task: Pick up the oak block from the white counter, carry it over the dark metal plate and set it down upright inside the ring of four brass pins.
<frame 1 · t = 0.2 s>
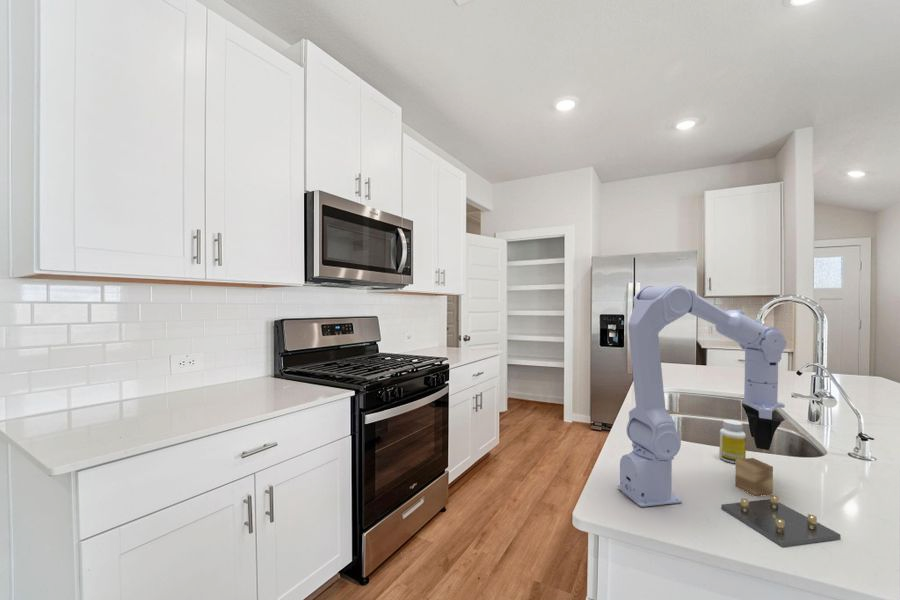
hand: (759, 442, 87), 10 cm above the counter, tool pointing down, fingers open, 7 cm apart
supplement bottle: (732, 460, 100), on the counter
oak block: (753, 490, 85), on the counter
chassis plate: (776, 522, 73), on the counter
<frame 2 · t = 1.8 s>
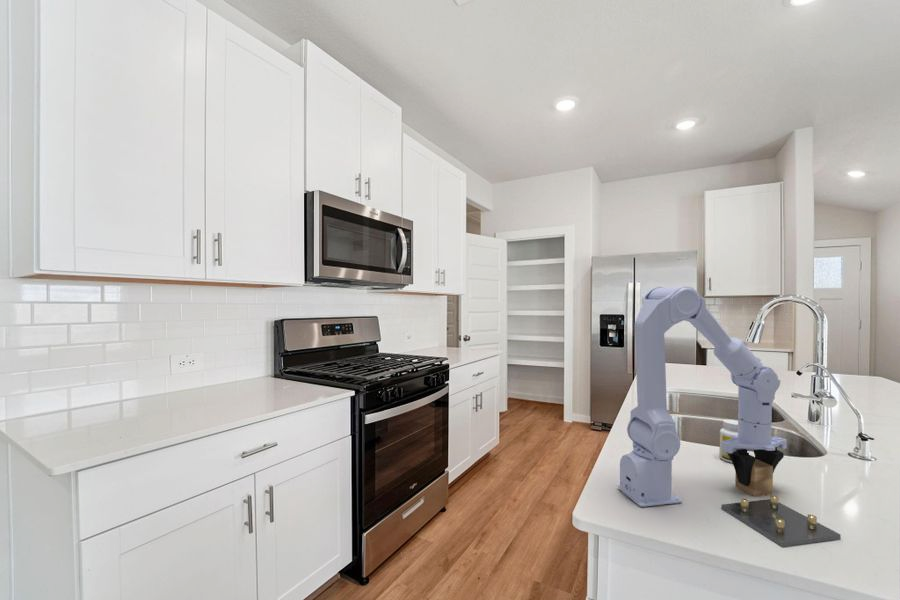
hand: (753, 482, 85), 2 cm above the counter, tool pointing down, fingers closed on oak block, 4 cm apart
oak block: (753, 490, 85), on the counter, touching gripper
everything else where it was.
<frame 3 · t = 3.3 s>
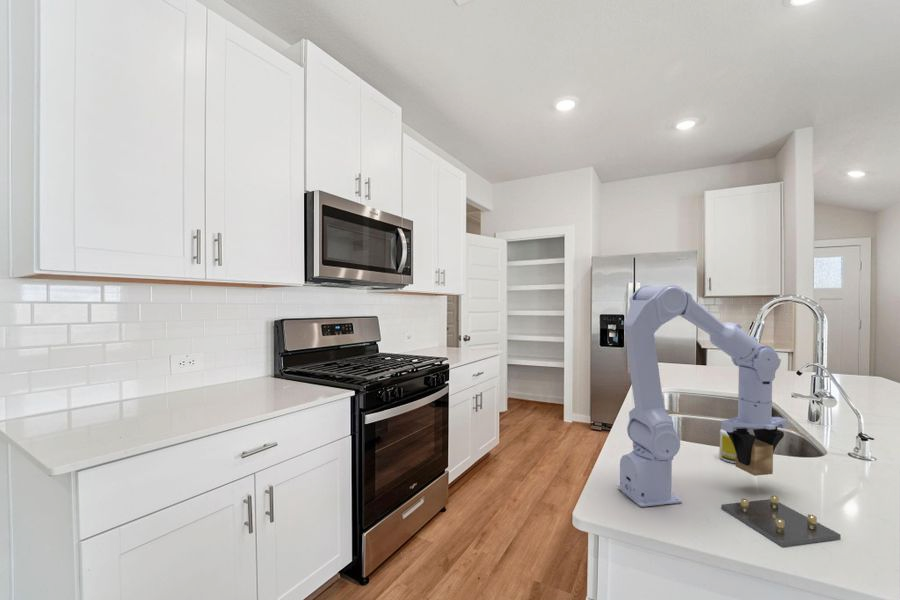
hand: (753, 462, 85), 6 cm above the counter, tool pointing down, fingers closed on oak block, 4 cm apart
oak block: (753, 470, 85), point 4 cm above the counter, touching gripper
everything else where it was.
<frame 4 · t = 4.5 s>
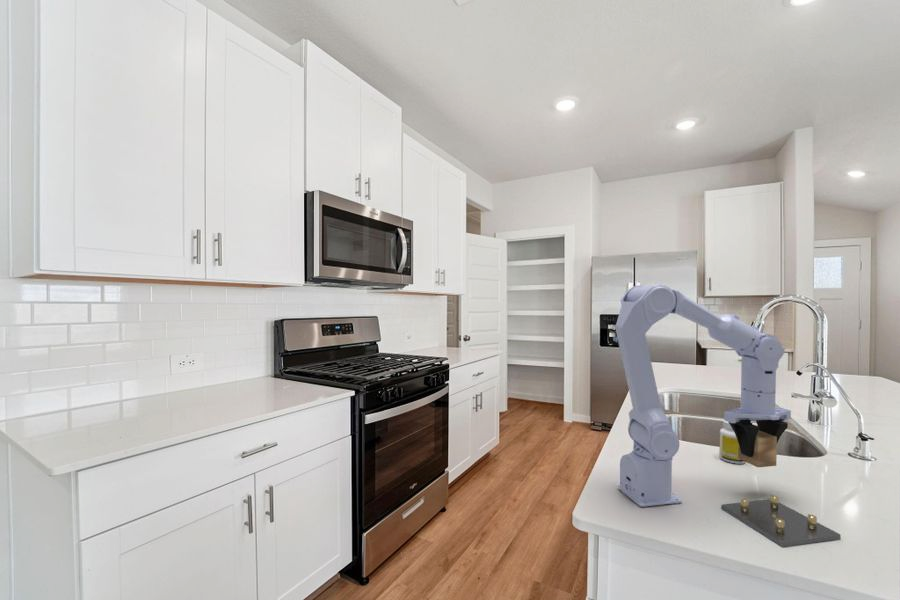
hand: (757, 454, 83), 9 cm above the counter, tool pointing down, fingers closed on oak block, 4 cm apart
oak block: (756, 462, 83), point 7 cm above the counter, touching gripper
everything else where it was.
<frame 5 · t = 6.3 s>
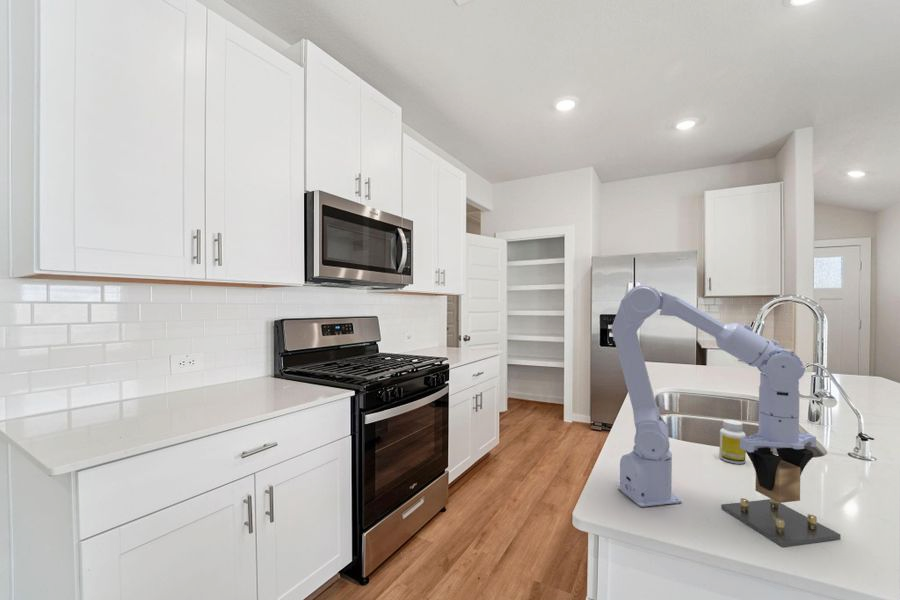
hand: (777, 486, 73), 7 cm above the counter, tool pointing down, fingers closed on oak block, 4 cm apart
oak block: (777, 495, 73), point 5 cm above the counter, touching gripper
everything else where it was.
when the fingers open (3 cm above the counter, at t = 7.5 s): oak block stays where it is, resting on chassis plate.
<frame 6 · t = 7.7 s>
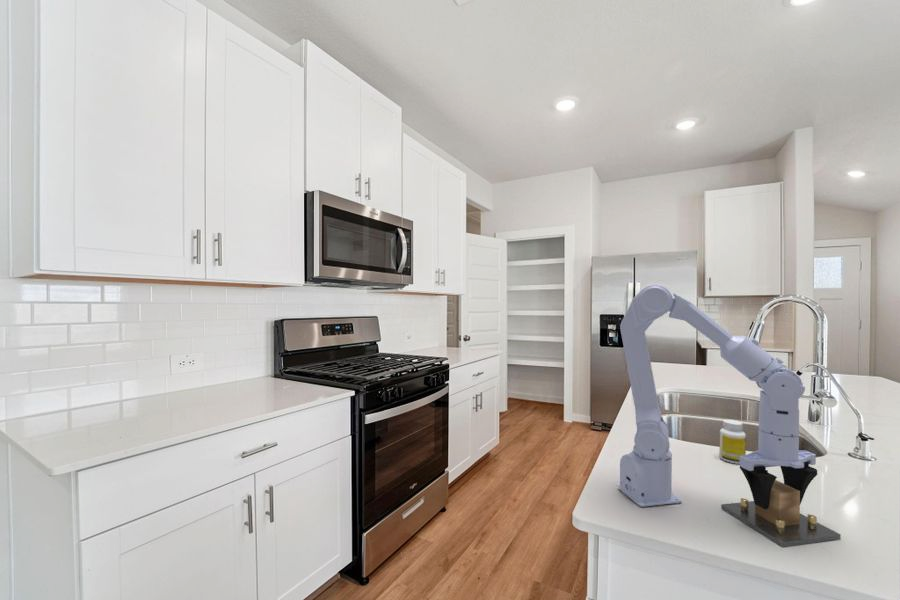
hand: (777, 504, 73), 3 cm above the counter, tool pointing down, fingers open, 6 cm apart
oak block: (776, 518, 73), point 1 cm above the counter, touching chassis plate
everything else where it was.
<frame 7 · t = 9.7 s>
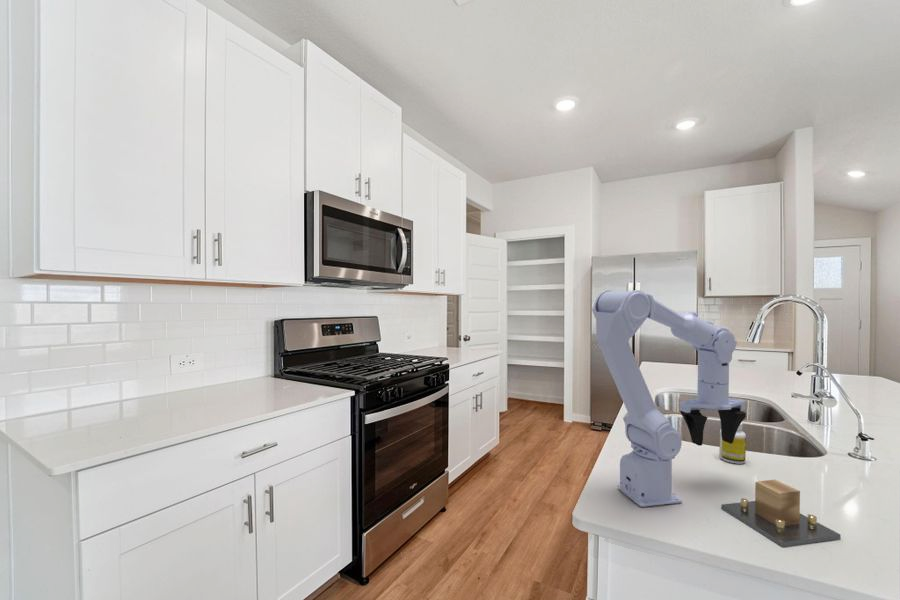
hand: (712, 442, 87), 9 cm above the counter, tool pointing down, fingers open, 7 cm apart
nothing on the counter moved.
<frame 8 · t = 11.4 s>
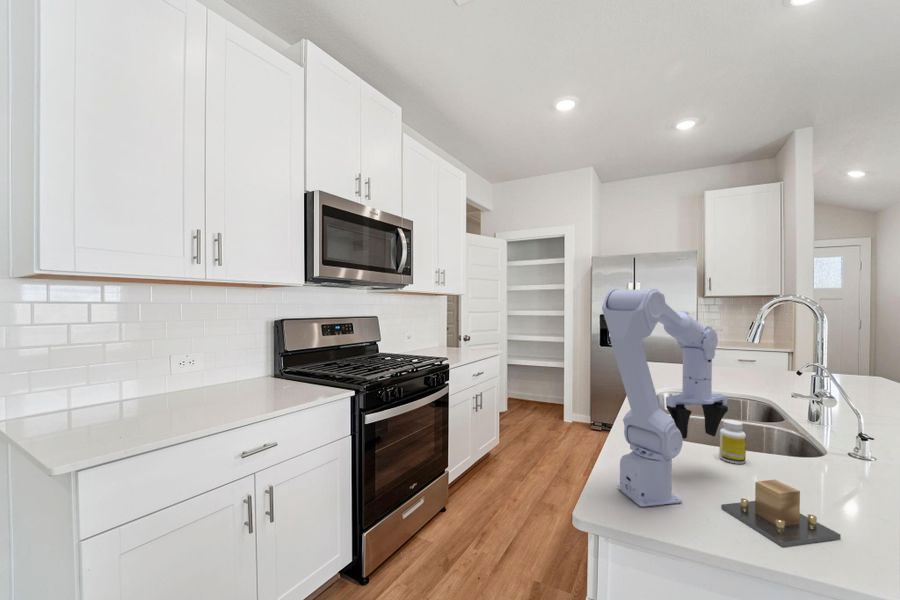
hand: (696, 435, 92), 9 cm above the counter, tool pointing down, fingers open, 7 cm apart
nothing on the counter moved.
at the end: oak block 0.0 cm off-centre on the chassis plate, point 0.8 cm above the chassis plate's base; oak block tilted 0°; the gripper is holding nothing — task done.
